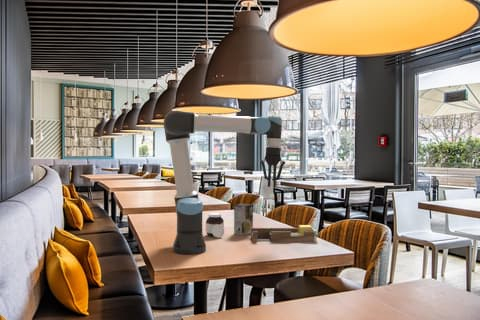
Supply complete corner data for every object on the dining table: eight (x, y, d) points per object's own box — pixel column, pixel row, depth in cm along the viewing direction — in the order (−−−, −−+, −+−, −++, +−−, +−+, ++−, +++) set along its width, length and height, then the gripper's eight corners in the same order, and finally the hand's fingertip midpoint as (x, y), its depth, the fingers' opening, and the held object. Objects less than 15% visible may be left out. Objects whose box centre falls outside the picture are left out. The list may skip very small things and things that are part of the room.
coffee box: (245, 231, 232) (245, 203, 231) (253, 233, 227) (253, 204, 227) (233, 233, 225) (233, 204, 225) (241, 235, 221) (241, 205, 220)
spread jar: (215, 232, 228) (215, 212, 228) (231, 235, 221) (231, 214, 221) (200, 236, 218) (201, 214, 218) (217, 239, 211) (217, 216, 211)
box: (316, 241, 208) (316, 230, 208) (252, 241, 206) (252, 230, 206) (311, 237, 218) (312, 227, 218) (251, 237, 217) (251, 226, 217)
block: (311, 234, 211) (312, 226, 210) (300, 234, 210) (300, 226, 210) (309, 232, 216) (309, 225, 215) (298, 232, 215) (298, 225, 215)
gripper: (284, 147, 211) (282, 193, 211) (259, 146, 210) (257, 192, 210) (287, 147, 203) (285, 194, 204) (261, 146, 202) (259, 193, 203)
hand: (271, 193), depth 207 cm, fingers closed
